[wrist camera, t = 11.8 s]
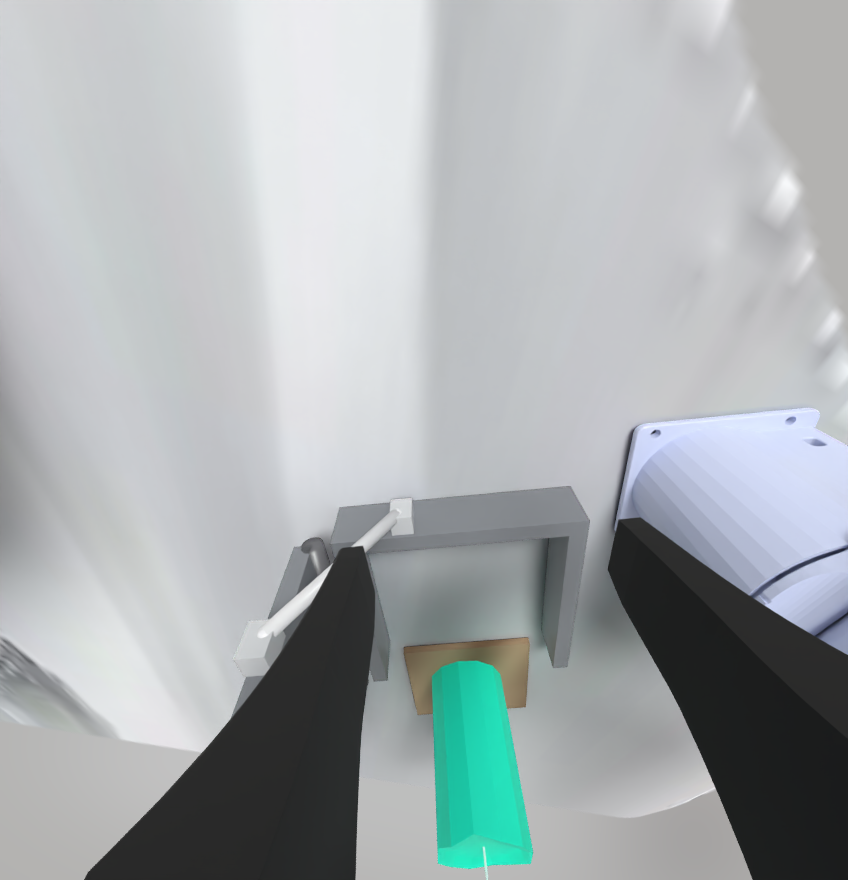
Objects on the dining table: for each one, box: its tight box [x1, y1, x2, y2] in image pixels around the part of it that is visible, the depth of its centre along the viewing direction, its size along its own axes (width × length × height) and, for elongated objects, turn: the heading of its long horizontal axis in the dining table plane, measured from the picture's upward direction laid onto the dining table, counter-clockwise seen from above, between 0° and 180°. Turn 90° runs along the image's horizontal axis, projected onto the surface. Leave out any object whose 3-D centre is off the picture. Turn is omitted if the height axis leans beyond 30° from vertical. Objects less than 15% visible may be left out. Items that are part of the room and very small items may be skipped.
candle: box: [432, 661, 533, 880], centre depth 27 cm, size 6×6×12 cm
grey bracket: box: [231, 486, 590, 718], centre depth 19 cm, size 16×15×17 cm
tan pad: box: [404, 638, 530, 715], centre depth 33 cm, size 10×10×1 cm
